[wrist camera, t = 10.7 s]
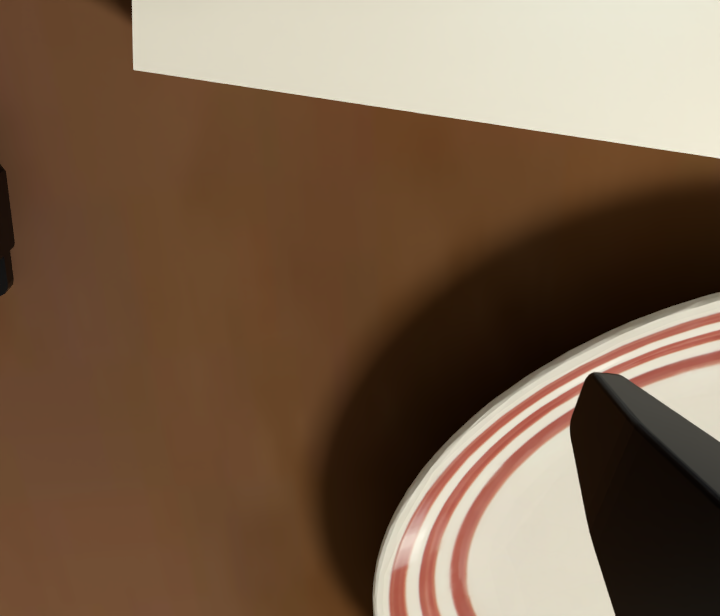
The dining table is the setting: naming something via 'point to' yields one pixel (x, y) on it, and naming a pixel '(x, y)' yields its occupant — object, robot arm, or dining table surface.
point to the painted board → (464, 59)
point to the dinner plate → (535, 481)
